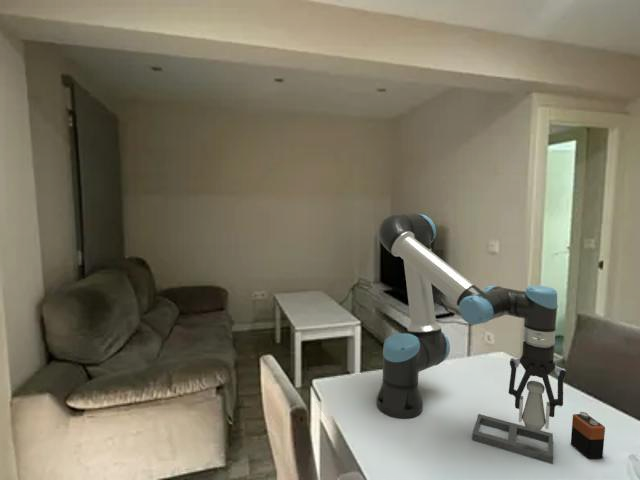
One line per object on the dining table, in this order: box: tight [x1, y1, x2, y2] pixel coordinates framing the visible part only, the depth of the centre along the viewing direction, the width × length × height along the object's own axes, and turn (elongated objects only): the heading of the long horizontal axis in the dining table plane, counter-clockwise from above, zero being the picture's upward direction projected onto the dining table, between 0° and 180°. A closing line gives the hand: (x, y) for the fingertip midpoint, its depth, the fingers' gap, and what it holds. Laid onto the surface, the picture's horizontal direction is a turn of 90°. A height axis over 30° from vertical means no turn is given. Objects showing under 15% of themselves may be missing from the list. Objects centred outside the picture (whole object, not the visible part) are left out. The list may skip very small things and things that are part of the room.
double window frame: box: [471, 413, 554, 465], centre depth 111 cm, size 20×12×2 cm, turn 60°
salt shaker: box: [522, 380, 546, 432], centre depth 107 cm, size 6×6×13 cm
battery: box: [570, 411, 606, 460], centre depth 106 cm, size 4×7×10 cm, turn 5°
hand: (533, 422), depth 108 cm, fingers closed on salt shaker, 6 cm apart
